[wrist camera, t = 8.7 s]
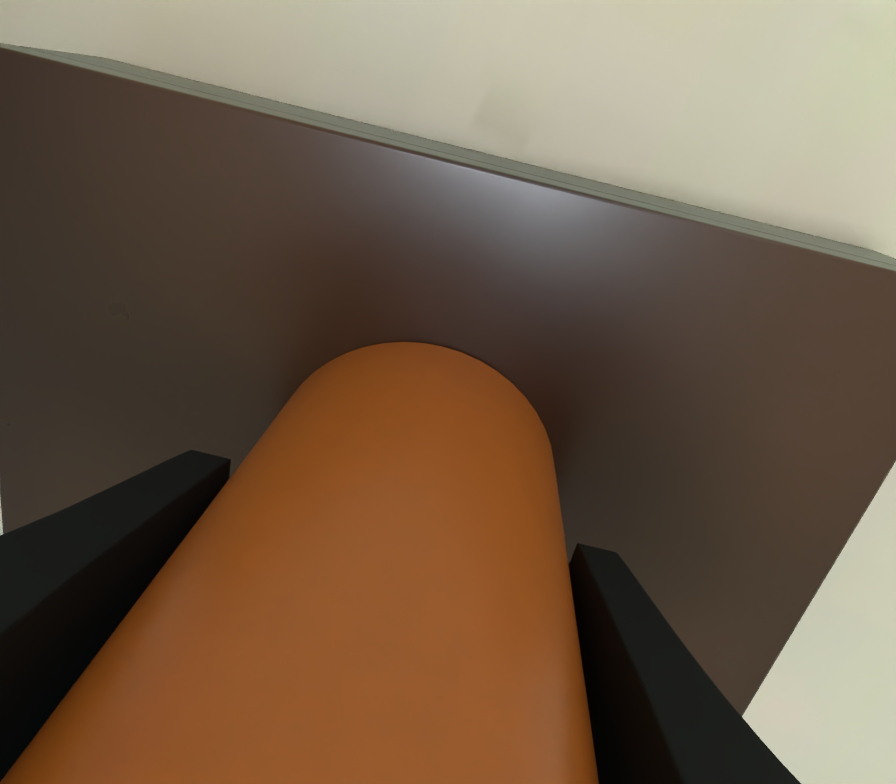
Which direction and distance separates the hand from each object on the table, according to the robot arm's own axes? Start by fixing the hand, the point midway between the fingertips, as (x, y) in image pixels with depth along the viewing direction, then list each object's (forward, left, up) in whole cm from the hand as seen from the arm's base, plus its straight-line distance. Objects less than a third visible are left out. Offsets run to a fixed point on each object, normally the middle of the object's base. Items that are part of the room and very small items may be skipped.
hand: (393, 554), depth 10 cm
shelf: (0, 0, -6) cm, 6 cm away
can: (0, 0, -2) cm, 2 cm away
